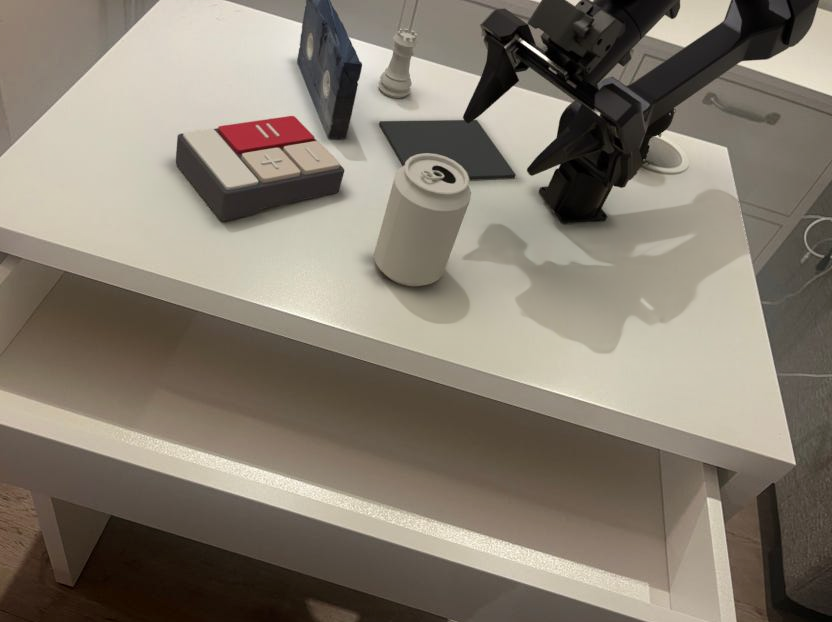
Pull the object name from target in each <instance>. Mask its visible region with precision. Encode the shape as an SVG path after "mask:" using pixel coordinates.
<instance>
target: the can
mask: <svg viewBox="0 0 832 622" xmlns="http://www.w3.org/2000/svg"><path fill="white" fill-rule="evenodd" d="M471 198H472V191H471V188H470V180H469V176H468V174H467V172H466V171H465V170H464V168H463V167H462V166H461V165H459V164H458V163H457V162H455V161H454V160H452V159H449V158H447V157H445V156H441V155H438V154H430V153H424V154H417V155H414V156H412V157H410V158H409V159H408V160H407V161H406V162H405V165H404V166H403V165H402V166H401V167H400V168H399V169H397V170H396V171H395V175H394V178H393V182H392V185H391V189H390V192H389V196H388V200H387V204H386V208H385V210H384V211H385V212H384V215H383V218H382V223H381V226H380V230H379V234H378V237H377V241H376V244H375V249H374V251H373V252H374V253H373V258H374V263H375V264H376V266H377V268H378V269H379V270H380V271H381V272H382V273H383V274H384V275H385V277H387V278H388V279H390V280H391V281H393V282H395V283H397V284H398V285H401V286H406V287H420V286H421V287H422V286H426V285H431V284H433V283H435V282H437V281H439V280H440V278H441V277H442V276H443V274H444V272H445V270H446V267H447V265H448V262H449V259H450V256H451V254H452V251H453V248H454V245H455V243H456V240H457V238H458V234H459V232H460V229H461V226H462V223H463V221H464V218H465V215H466V212H467V210H468V207H469V205H470V202H471Z"/></svg>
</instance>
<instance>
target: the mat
mask: <svg viewBox="0 0 832 622" xmlns="http://www.w3.org/2000/svg"><path fill="white" fill-rule="evenodd" d="M378 126H379V128H380V129H381V131H382V132H383V134H384V135H385V137H386V139H387V142H388V143H389V145H390V147H391V148H392V149H393V151H394V154H395V155H396V157H397V159H398V160H399V162H400V164H401V165H402V166H404V165H405V162H406V161H407V160H408V159H409V158H410V157H412V156H414V155H417V154H424V153H430V154H438V155H441V156H445V157H447V158H449V159H452V160H454V161H455V162H457V163H458V164H459V165H461V166H462V167H463V168H464V170H465V171H466V172H467V174H468V176H469V181H472V180H492V179H493V180H495V179H496V180H497V179H514V178H515V177H516V176H517V174H516V173H515V171H514V170H513V168H512V167H511V165H510V164H509V162H508V161H507V160H506V159H505V157H504V156H503V155H502V153H501V152H500V150H499V149H498V147H497V146H496V145H495V143H494V142H493V141H492V139H491V137H490V136H489V134H488V133H487V132H486V131H485V129H484V127H482V125H481V123H480V122H479V121H478V120H477V119H474V120H473V121H472V122H470V123H466V122H465V121H464V119H448V120H447V119H446V120H445V119H444V120H443V119H441V120H440V119H437V120H381V121H380V120H379V122H378Z"/></svg>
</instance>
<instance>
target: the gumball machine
mask: <svg viewBox="0 0 832 622" xmlns="http://www.w3.org/2000/svg"><path fill="white" fill-rule="evenodd" d="M676 112H677V110H676V108H673V109H672V110H670V111H669V112H667V113H666V114H665V115H663V116H662V117H660V118H659V119H657V120H656V121H654V122H653V123H652V124H650V125H649V126H648V128H647V131H646V133H645V136H644V139H643V142H642V144H641V147H640V149H639V151H640V155H641V159H642V162H643V164H642V166H643V165H645V166H647V167H648V166H649V165H650V163H649V161H648V160H647V157H648V154H649V152H650V148H651V147H650V141H651V139H652V138H653V137H657V136H658V137H659V138H661V137H662V135H663V133H664V132H665V131H667V130H668V128H669V127H671V124H672V123H673V120H674V116H675V114H676Z"/></svg>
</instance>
